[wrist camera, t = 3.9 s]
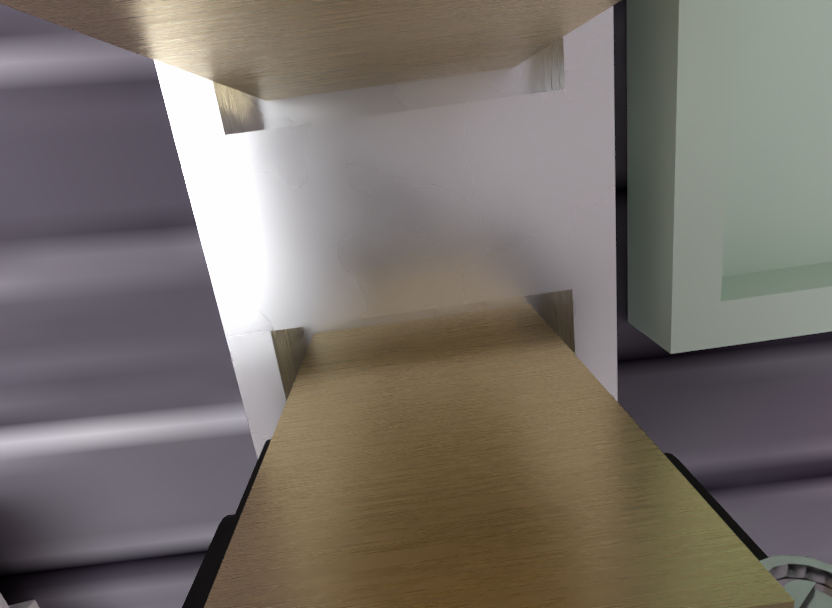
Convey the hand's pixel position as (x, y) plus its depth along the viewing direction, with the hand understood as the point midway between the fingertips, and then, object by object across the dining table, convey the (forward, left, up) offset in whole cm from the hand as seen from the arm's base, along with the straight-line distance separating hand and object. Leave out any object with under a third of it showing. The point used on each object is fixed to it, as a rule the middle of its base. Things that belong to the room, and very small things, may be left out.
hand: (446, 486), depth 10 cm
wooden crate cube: (0, 0, -3) cm, 3 cm away
